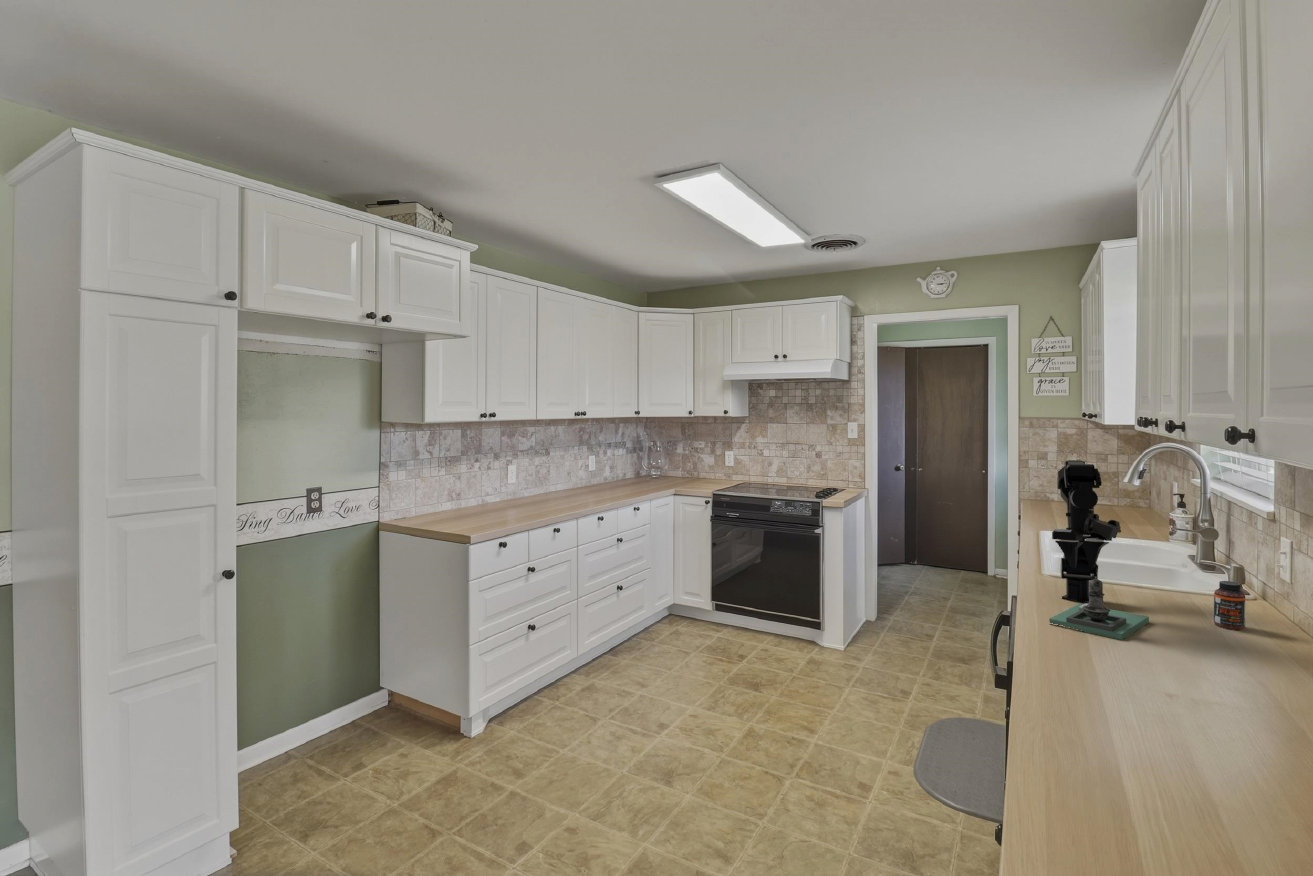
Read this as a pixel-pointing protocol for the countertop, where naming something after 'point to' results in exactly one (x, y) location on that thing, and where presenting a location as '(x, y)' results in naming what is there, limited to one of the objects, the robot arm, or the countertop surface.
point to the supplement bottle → (1229, 606)
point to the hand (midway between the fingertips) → (1083, 567)
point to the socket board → (1117, 628)
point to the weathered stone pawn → (1096, 603)
